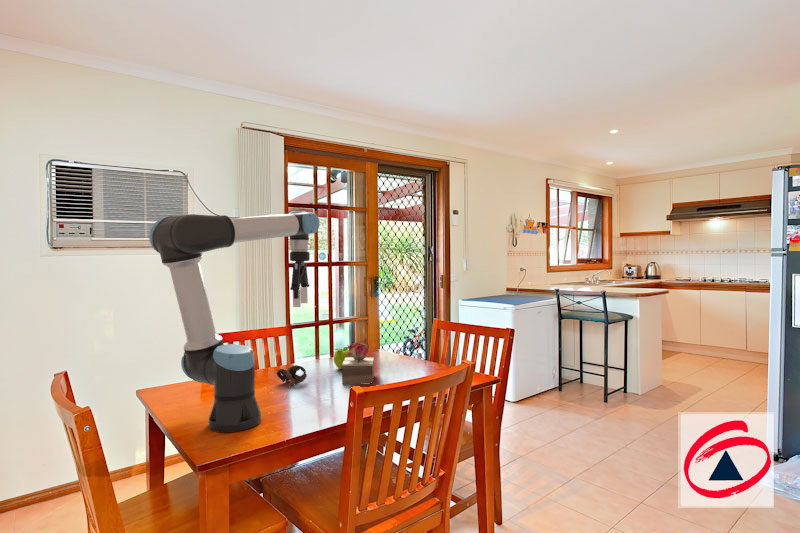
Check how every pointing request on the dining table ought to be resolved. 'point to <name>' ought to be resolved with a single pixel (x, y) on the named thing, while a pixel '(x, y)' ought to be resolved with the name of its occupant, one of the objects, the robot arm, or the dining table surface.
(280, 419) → the dining table surface
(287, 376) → the pottery mug
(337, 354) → the fruit
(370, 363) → the pedestal
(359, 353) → the flower
